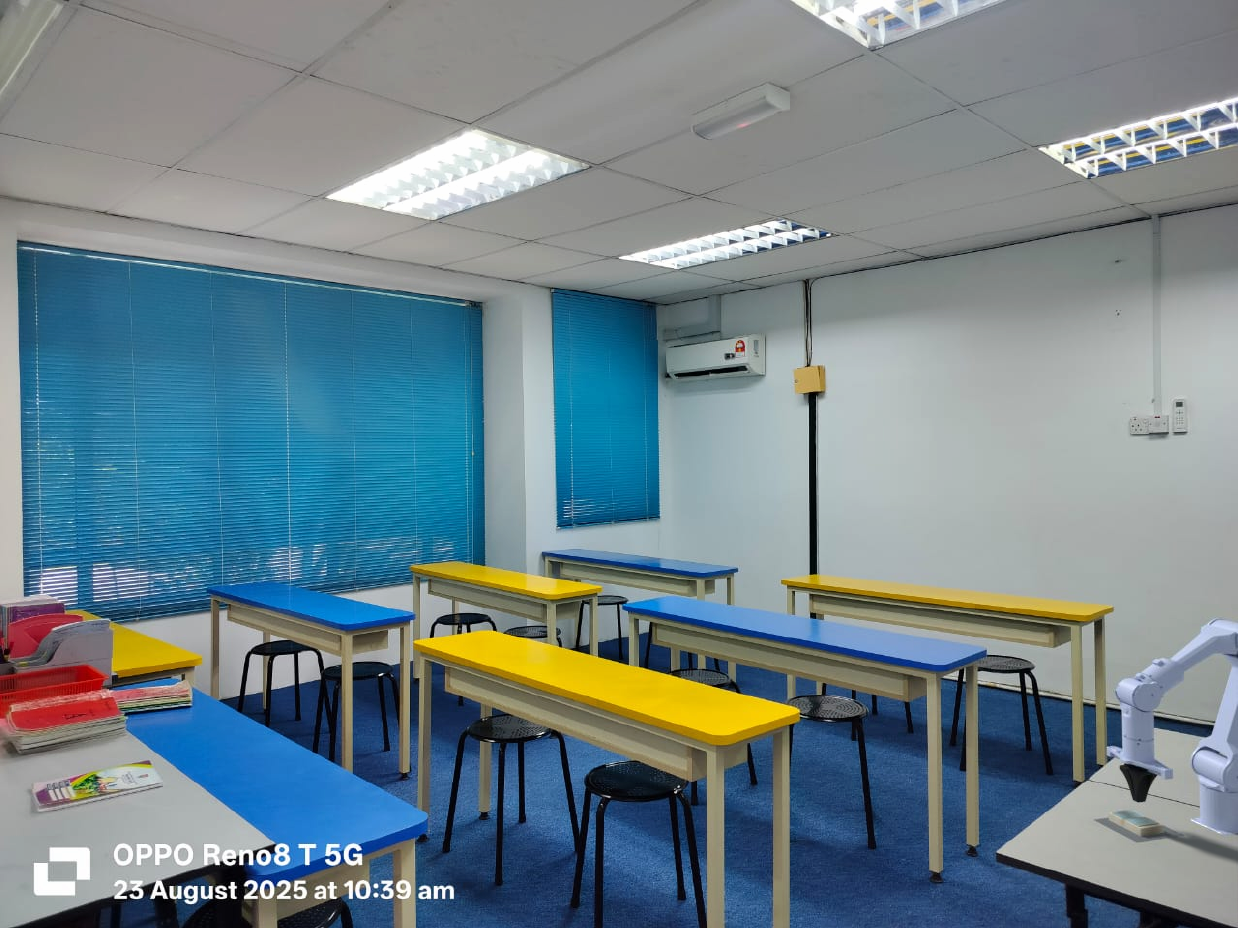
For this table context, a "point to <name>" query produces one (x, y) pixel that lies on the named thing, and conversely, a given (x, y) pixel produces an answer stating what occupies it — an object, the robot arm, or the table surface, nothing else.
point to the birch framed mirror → (1136, 822)
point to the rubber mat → (1167, 834)
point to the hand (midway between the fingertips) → (1139, 800)
